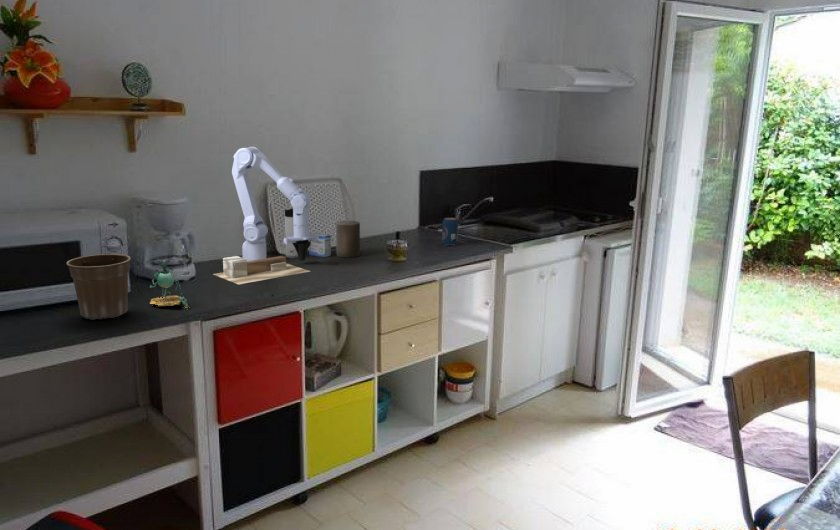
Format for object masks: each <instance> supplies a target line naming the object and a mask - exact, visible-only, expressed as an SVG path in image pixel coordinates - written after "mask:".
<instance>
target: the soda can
mask: <svg viewBox="0 0 840 530" xmlns="http://www.w3.org/2000/svg"><path fill="white" fill-rule="evenodd" d="M441 223H442V225H441V226H442V227H441V228H442V229H441V243H442V244H443V243H444V244H456V243H457V244H458V232H459V231H458V230H459V229H458V228H459V222H458V220H457V218H456V217H443V220H442V222H441ZM457 244H456V245H457Z"/></svg>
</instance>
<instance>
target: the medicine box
mask: <svg viewBox="0 0 840 530" xmlns="http://www.w3.org/2000/svg"><path fill="white" fill-rule="evenodd" d="M313 234H318V235H319V239H318V240H316V239H315V240H309V242H311V245H310V246H309V248H308V251H309V252H308V254H309V256H312V257H319V258H320V257H321V258H326V257H330V256H332V251H331V250H332V242H331V241H332V240H331V239H332V238H331V237H332V235H330V234H323V233H313Z"/></svg>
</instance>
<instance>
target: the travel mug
mask: <svg viewBox="0 0 840 530" xmlns="http://www.w3.org/2000/svg"><path fill="white" fill-rule="evenodd" d="M291 236H294V226H293V208H289V209H284V238H288V237H291ZM284 246H285V248H284V249H285V257H286V259H287V258H288V259H297V258H298V254H297V251H296V249H295V247H294V245H293V243H289V244H285V245H284Z"/></svg>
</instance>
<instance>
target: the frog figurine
mask: <svg viewBox="0 0 840 530" xmlns="http://www.w3.org/2000/svg"><path fill="white" fill-rule="evenodd" d="M173 271H174V269H173V268H172V267H169V268H167V261H166V260H162V270H160V272H159V270H158V269H155V270H153V274H154V275H153V276H154V278H155V279H156V281H155V279H152V280H151V282H152V284H153V286H152V285H149V288H150V289H152V288H155V287H156V286H157V285H158V286H159V287H161V294H162V296H159V297H160V298H159V297H154V298H151V299H150V302H149V304H155V305H158V306H157V307H166V306H170V307H171V306H175V305H177V306H180V305H181V304H182V306H184V307H185V308H188V307H189V303H188V301H187V299H186V298H185V294H184V295H183V293H182V292H180V296H179V295H171V292H170V291H167V290H168V288H170V287H172V286H173V285H174V283H176V288H175V292H177V291H178V286H179V291H181V290H182V288H181V284H180V282H179V280H177V279H175V277H174V274H173ZM168 293H169V295H167V294H168ZM162 297H163V298H162Z"/></svg>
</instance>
